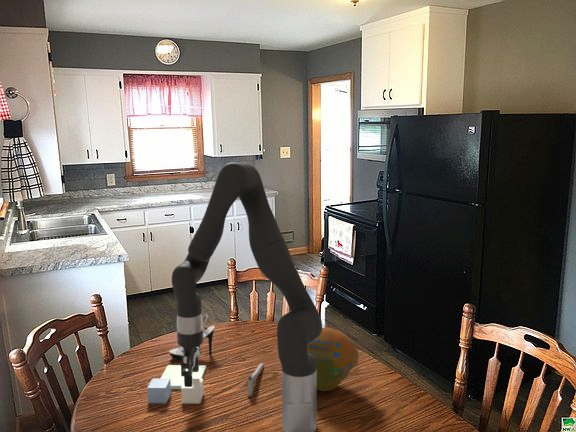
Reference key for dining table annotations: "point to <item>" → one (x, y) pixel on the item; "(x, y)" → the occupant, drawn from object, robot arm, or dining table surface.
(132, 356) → the dining table surface
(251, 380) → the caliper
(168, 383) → the brick top
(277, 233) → the robot arm
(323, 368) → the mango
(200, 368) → the base plate
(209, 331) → the sandal
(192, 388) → the white cube
